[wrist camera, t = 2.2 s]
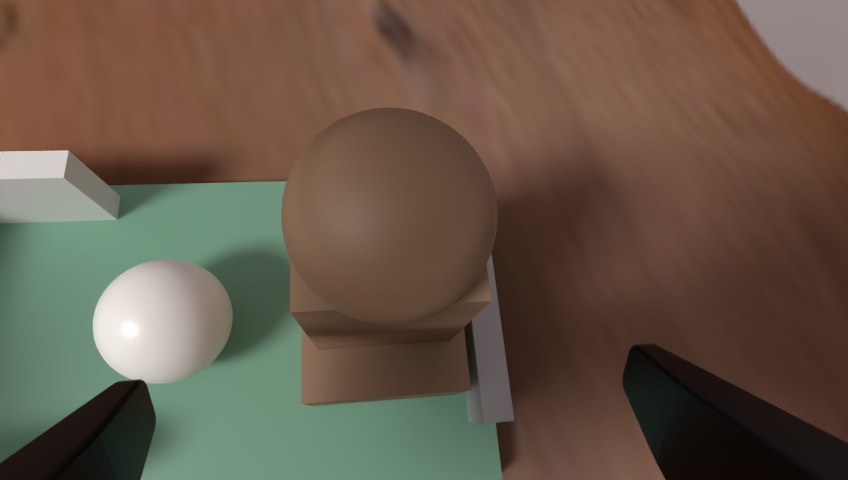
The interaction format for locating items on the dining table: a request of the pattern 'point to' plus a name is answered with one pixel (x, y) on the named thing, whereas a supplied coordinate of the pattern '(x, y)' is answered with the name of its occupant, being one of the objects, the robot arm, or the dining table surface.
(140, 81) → the dining table surface
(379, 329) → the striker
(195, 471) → the pitch
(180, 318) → the ball
